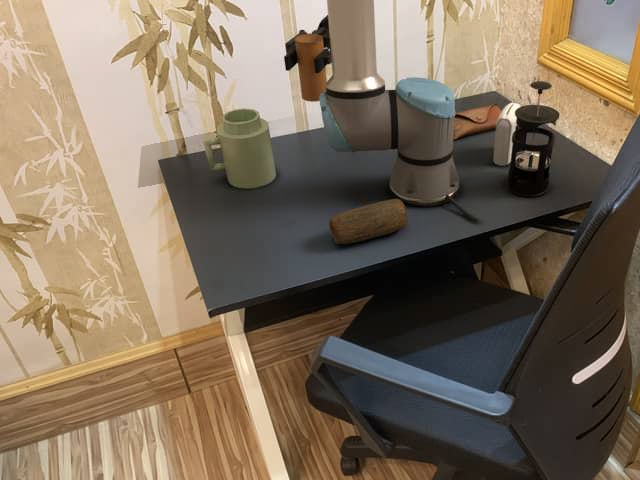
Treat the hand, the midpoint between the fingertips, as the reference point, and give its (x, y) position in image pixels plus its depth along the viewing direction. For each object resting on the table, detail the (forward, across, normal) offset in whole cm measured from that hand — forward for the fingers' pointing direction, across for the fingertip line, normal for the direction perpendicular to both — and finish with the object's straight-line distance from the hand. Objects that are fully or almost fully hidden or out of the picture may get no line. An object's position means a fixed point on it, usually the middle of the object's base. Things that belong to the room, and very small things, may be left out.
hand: (301, 65), depth 123 cm
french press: (-9, -46, -26) cm, 54 cm away
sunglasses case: (-36, -31, -26) cm, 54 cm away
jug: (+2, +16, -26) cm, 31 cm away
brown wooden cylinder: (+18, -18, -26) cm, 37 cm away
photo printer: (-21, -40, -26) cm, 53 cm away
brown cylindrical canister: (-5, 0, -8) cm, 10 cm away
